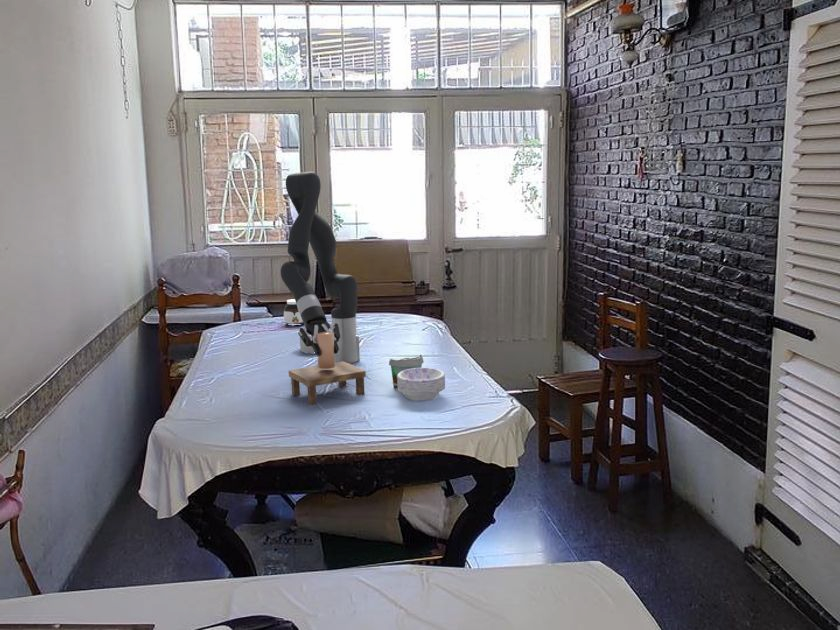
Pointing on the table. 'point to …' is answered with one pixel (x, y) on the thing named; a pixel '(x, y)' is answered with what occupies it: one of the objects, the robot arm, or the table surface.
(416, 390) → the paper bowls
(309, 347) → the lumpy-topped squat cylinder
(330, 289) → the robot arm
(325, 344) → the peach rounded cylinder
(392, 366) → the food container
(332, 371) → the footstool
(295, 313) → the spread jar
